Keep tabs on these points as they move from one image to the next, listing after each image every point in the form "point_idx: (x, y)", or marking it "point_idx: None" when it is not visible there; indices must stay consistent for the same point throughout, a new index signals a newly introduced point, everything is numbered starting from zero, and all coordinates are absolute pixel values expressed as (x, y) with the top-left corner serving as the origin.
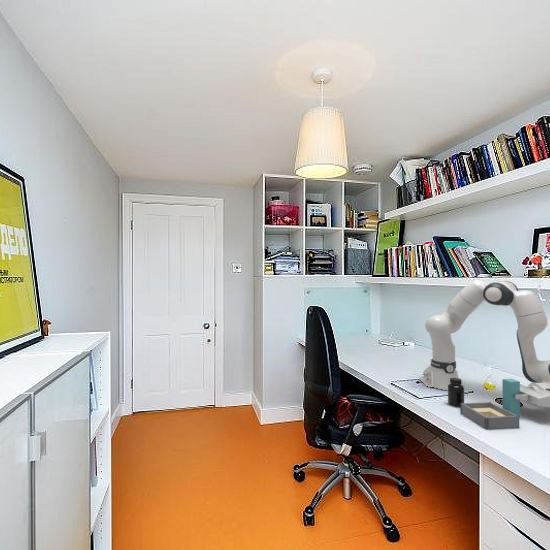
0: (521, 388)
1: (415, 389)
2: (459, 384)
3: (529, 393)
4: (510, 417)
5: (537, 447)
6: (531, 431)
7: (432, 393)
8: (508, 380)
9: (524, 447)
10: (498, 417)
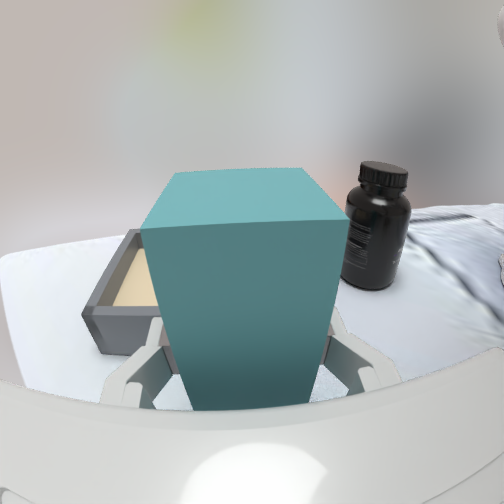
0: (332, 479)
1: (460, 235)
2: (365, 185)
3: (80, 411)
4: (97, 285)
5: (17, 303)
6: (63, 370)
7: (453, 254)
8: (237, 176)
9: (36, 281)
10: (115, 253)
